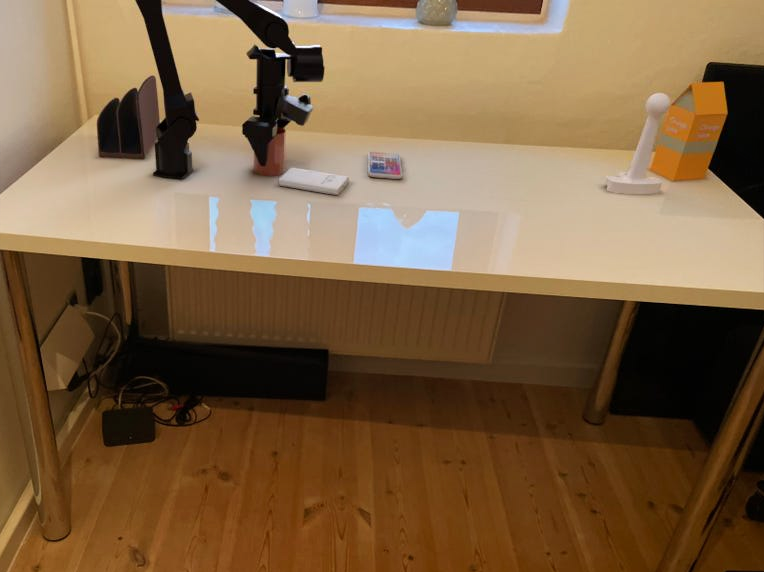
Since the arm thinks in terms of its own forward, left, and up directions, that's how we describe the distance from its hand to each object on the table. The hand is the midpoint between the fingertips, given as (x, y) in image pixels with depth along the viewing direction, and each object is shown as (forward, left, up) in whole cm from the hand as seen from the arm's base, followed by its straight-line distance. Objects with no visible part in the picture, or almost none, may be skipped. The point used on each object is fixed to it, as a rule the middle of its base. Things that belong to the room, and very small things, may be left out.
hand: (269, 159), depth 155 cm
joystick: (+75, +18, -3) cm, 77 cm away
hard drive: (+11, -5, -3) cm, 12 cm away
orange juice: (+87, +32, -3) cm, 93 cm away
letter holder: (-34, +5, -3) cm, 34 cm away
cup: (0, 0, -2) cm, 2 cm away
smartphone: (+23, +11, -2) cm, 26 cm away
